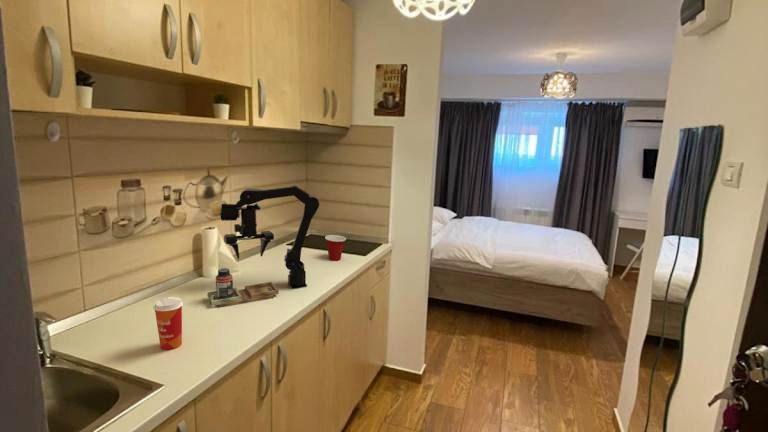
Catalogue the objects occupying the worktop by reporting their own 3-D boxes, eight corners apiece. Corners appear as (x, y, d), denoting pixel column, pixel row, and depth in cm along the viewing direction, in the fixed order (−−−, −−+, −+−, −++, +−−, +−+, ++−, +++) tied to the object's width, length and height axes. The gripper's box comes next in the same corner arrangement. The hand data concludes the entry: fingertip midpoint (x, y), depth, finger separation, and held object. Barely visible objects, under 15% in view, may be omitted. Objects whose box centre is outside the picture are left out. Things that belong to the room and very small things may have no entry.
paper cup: (151, 346, 119) (147, 302, 117) (176, 336, 126) (173, 294, 123) (165, 355, 115) (162, 309, 112) (191, 344, 121) (188, 300, 119)
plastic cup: (341, 263, 204) (341, 240, 201) (321, 261, 206) (321, 238, 204) (348, 257, 214) (349, 235, 212) (329, 255, 217) (329, 233, 214)
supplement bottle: (221, 294, 157) (220, 266, 155) (236, 295, 157) (235, 267, 154) (213, 300, 151) (212, 271, 149) (228, 301, 151) (227, 272, 148)
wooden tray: (270, 287, 169) (270, 281, 169) (279, 297, 159) (279, 291, 159) (207, 297, 156) (206, 291, 156) (212, 308, 146) (211, 302, 146)
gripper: (266, 215, 174) (267, 250, 177) (220, 218, 164) (222, 255, 167) (274, 220, 165) (274, 256, 168) (225, 223, 155) (227, 262, 158)
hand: (249, 257), depth 165 cm, fingers open, 9 cm apart
